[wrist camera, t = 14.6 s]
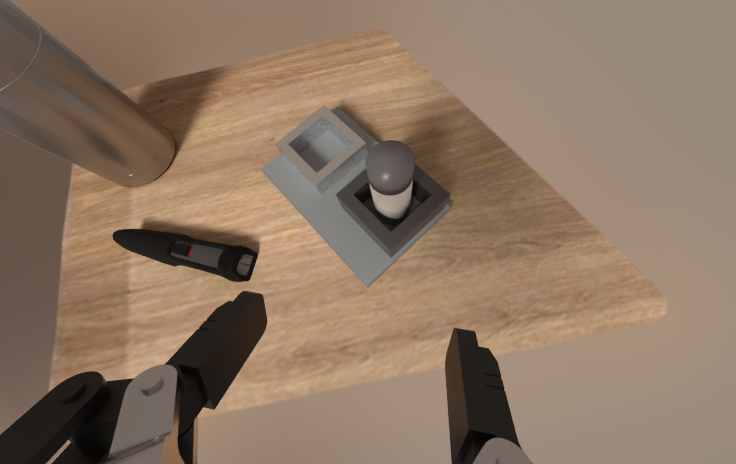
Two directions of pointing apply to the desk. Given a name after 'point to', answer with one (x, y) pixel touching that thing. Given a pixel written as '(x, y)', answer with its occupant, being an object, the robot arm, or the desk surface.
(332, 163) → the square frame
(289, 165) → the panel
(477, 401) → the robot arm
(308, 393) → the desk surface
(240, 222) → the desk surface
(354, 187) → the port
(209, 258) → the electric trimmer
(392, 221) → the plug
